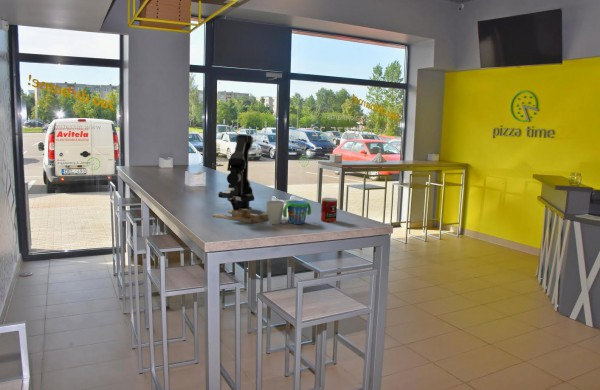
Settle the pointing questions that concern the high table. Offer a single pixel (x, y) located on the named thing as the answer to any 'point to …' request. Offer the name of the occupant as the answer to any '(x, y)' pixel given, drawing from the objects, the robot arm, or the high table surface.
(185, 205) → the high table surface
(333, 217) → the canned food
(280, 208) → the cup
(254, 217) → the light brown long piece
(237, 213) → the crate
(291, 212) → the snack cup
